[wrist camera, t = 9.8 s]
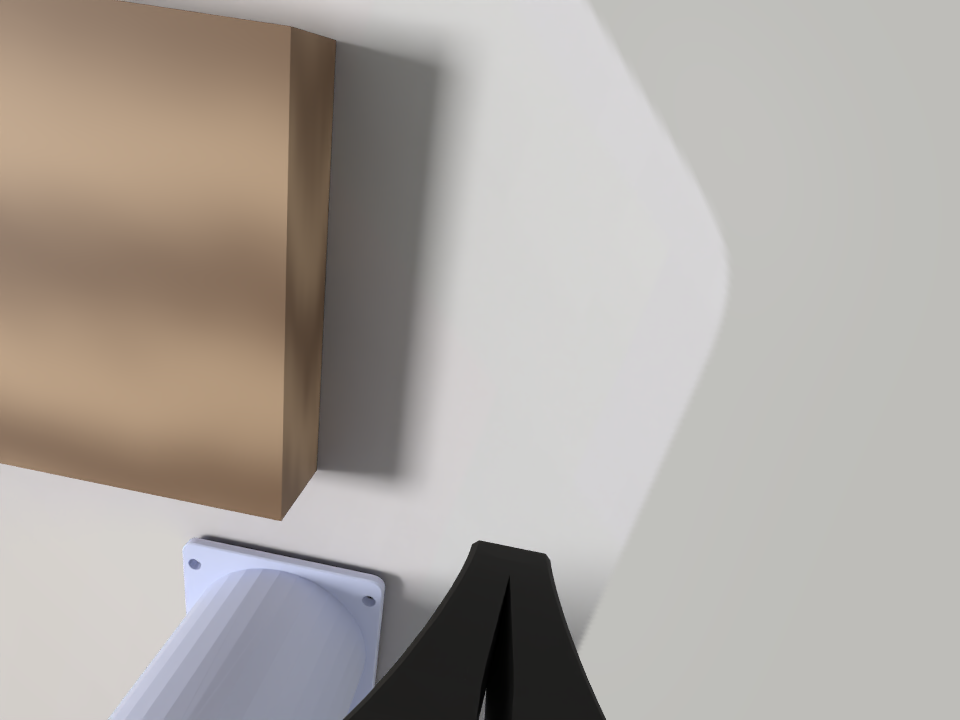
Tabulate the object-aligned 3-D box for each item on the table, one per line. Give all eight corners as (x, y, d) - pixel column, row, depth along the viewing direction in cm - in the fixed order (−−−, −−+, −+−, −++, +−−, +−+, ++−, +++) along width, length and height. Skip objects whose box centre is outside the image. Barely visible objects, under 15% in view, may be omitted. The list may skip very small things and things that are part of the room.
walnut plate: (316, 470, 22) (281, 521, 20) (8, 408, 23) (-68, 449, 20) (336, 40, 17) (290, 26, 14) (-69, -21, 18) (-186, -46, 15)
